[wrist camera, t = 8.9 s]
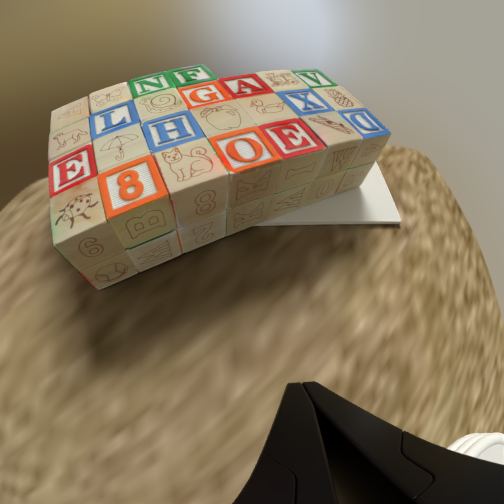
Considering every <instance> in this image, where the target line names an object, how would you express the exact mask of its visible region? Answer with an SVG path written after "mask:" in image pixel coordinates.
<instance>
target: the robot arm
mask: <svg viewBox="0 0 504 504" xmlns="http://www.w3.org/2000/svg"><path fill="white" fill-rule="evenodd" d="M232 504H504V465H502V464H498V463H494V462H490V461H486V460H483V459H479V458H475V457H472V456H468V455H465V454H462V453H458V452H455V451H452V450H449V449H446V448H443V447H441V446H438V445H435V444H433V443H430V442H428V441H426V440H423V439H421V438H419V437H417V436H415V435H413V434H410V433H408V432H406V431H403V430H401V429H399V428H397V427H396V426H394V425H392V424H390V423H388V422H386V421H384V420H382V419H380V418H378V417H377V416H375V415H373V414H371V413H369V412H367V411H365V410H364V409H362V408H360V407H358V406H357V405H355V404H353V403H351V402H349V401H348V400H346V399H344V398H343V397H341V396H339V395H337V394H336V393H334V392H332V391H331V390H329V389H327V388H326V387H324V386H322V385H321V384H319V383H317V382H315V381H312V382H303V383H302V384H301V383H299V382H298V383H288V384H287V386H286V389H285V391H284V394H283V397H282V400H281V403H280V405H279V408H278V411H277V414H276V416H275V419H274V422H273V424H272V427H271V430H270V432H269V435H268V437H267V440H266V442H265V445H264V447H263V450H262V452H261V454H260V457H259V459H258V461H257V464H256V466H255V468H254V470H253V472H252V474H251V476H250V478H249V480H248V481H247V483H246V484H245V486H244V488H243V489H242V491H241V492H240V494H239V495H238V497H237V498H236V499H235V501H234V502H233V503H232Z"/></svg>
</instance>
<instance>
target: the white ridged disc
mask: <svg viewBox="0 0 504 504" xmlns="http://www.w3.org/2000/svg"><path fill="white" fill-rule="evenodd" d="M446 449H449V450H452V451H455V452H458V453H462V454H465V455H468V456H472V457H475V458H479V459H483V460H486V461H490V462H494V463H498V464H502V465H504V434H502V433H497V432H496V433H482V434H480V433H473V434H469V435H466V436H464V437H462V438H460V439H458V440H456V441H455V442H454V443H452V444H451V445H450V446H449V447H447V448H446Z"/></svg>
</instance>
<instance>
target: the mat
mask: <svg viewBox="0 0 504 504" xmlns="http://www.w3.org/2000/svg"><path fill="white" fill-rule="evenodd" d="M401 222H402V221H401V218H400V216H399V213H398V211H397V208H396V206H395V203H394V201H393V198H392V196H391V194H390V191H389V189H388V187H387V184H386V182H385V180H384V178H383V176H382V173H381V171H380V169H379V167H378V165H377V163H376V161H375V163H374V165H373V166H372V168H371V170H370V171H369V173H368V175H367V176H366V178H365V180H364V181H363V183H362V184H361V185H360V186H358V187H355V188H352V189H349V190H346V191H343V192H340V193H338V194H334V195H333V196H331V197H329V198H326V199H323V200H321V201H318V202H316V203H313V204H310V205H307V206H302V207H301V208H299V209H297V210H294V211H292V212H289V213H286V214H284V215H281V216H279V217H276V218H273V219H271V220H266V221H264V222H262V223H259V224H256V225H254V226H277V225H325V224H400V223H401Z"/></svg>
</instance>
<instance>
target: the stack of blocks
mask: <svg viewBox="0 0 504 504" xmlns="http://www.w3.org/2000/svg"><path fill="white" fill-rule="evenodd" d="M390 135H391V133H390V131H389V130H388V129H386V127H385V126H383V124H382V123H380V121H379V120H378V119H377V118H376V117H374V116H373V115H372V114H371V113H370V112H369V111H368V110H367V109H366V108H364V106H363V105H362V104H361V103H360V102H359V101H358V100H356V98H354V97H353V96H352V95H351V94H350V93H348V92H347V91H346V90H345V89H344V88H342V87H341V86H338V85H337V84H336V83H335V82H333V81H332V80H330V79H329V78H328V77H327V76H326V75H325V74H323V73H322V72H320V71H319V70H317V69H303V70H276V71H266V72H257V73H255V74H248V75H241V76H234V77H228V78H221V79H218V78H217V77H216V76H215V75H214V74H213V73H212V72H211V71H210V70H209V69H208V68H206V66H205V65H204V64H201V65H195V66H189V67H184V68H179V69H174V70H170V71H167V72H159V73H155V74H151V75H146V76H143V77H139V78H135V79H132V80H130V81H129V82H128V83H126V82H124V83H121V84H117V85H114V86H111V87H108V88H105V89H102V90H99V91H96V92H93V93H91V94H90V95H89V96H88V97H84V98H81V99H79V100H77V101H74V102H72V103H70V104H67V105H65V106H63V107H60V108H59V109H56V110H54V111H52V115H51V128H50V135H49V150H48V161H49V194H50V200H49V204H50V219H51V230H52V239H53V245H54V247H55V248H56V249H57V250H58V252H59V253H60V254H61V255H62V256H63V257H65V258H66V259H67V260H68V261H69V262H70V263H71V264H72V265H73V266H74V267H75V268H76V269H77V270H79V273H80V274H81V275H82V276H83V277H84V278H85V279H86V280H87V281H88V282H89V283H90V284H91V285H93V286H94V287H95V288H96V289H97V290H100V289H103V288H105V287H108V286H110V285H112V284H115V283H117V282H119V281H122V280H124V279H126V278H129V277H131V276H133V275H135V274H137V273H138V272H142V271H145V270H147V269H149V268H152V267H154V266H156V265H159V264H161V263H163V262H166V261H168V260H170V259H173V258H175V257H177V256H179V255H181V254H182V253H186V252H189V251H191V250H194V249H196V248H198V247H201V246H203V245H206V244H208V243H211V242H213V241H216V240H218V239H220V238H223V237H225V236H228V235H231V234H234V233H236V232H239V231H241V230H244V229H246V228H249V227H251V226H254V225H256V224H259V223H262V222H264V221H266V220H271V219H273V218H276V217H279V216H281V215H284V214H286V213H289V212H292V211H294V210H297V209H299V208H301V207H302V206H307V205H310V204H313V203H316V202H318V201H321V200H323V199H326V198H329V197H331V196H333V195H334V194H338V193H340V192H343V191H346V190H349V189H352V188H355V187H358V186H360V185H361V184H362V183H363V181H364V180H365V178H366V176H367V175H368V173H369V171H370V170H371V168H372V166H373V165H374V163H375V161H376V160H377V158H378V156H379V155H380V153H381V151H382V149H383V148H384V146H385V144H386V143H387V141H388V139H389V137H390Z"/></svg>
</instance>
